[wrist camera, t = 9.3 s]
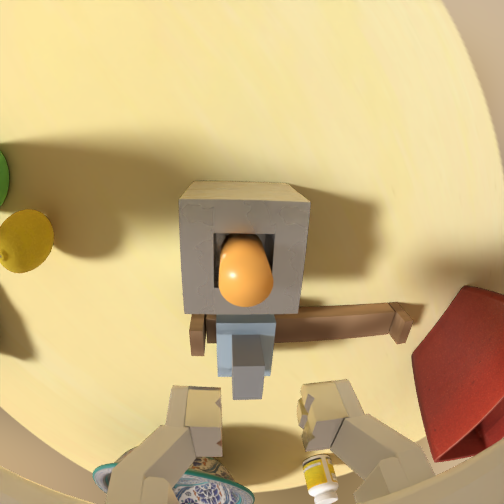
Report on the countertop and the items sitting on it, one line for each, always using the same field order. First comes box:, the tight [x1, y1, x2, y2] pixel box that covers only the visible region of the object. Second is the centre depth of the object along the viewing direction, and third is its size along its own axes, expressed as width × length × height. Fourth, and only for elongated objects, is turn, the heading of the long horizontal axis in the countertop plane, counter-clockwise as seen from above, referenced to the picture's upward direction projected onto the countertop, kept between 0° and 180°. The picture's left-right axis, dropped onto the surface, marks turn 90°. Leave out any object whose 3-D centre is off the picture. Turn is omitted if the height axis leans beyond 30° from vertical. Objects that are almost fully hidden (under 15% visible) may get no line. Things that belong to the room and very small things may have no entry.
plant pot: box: [411, 286, 504, 462], centre depth 27 cm, size 19×19×17 cm
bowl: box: [93, 446, 255, 504], centre depth 35 cm, size 25×25×10 cm
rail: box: [189, 302, 413, 356], centre depth 29 cm, size 3×23×4 cm, turn 88°
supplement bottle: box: [303, 455, 338, 504], centre depth 39 cm, size 5×5×10 cm
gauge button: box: [219, 233, 273, 307], centre depth 18 cm, size 3×3×5 cm
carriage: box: [216, 314, 276, 400], centre depth 26 cm, size 6×5×9 cm
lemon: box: [0, 209, 54, 273], centre depth 21 cm, size 6×6×8 cm
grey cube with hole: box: [179, 181, 311, 315], centre depth 23 cm, size 8×8×8 cm
